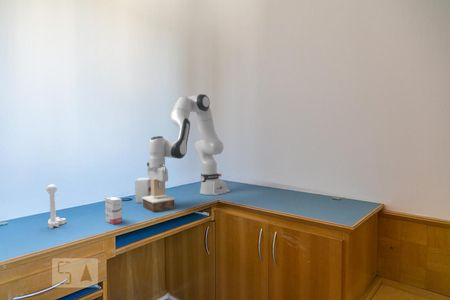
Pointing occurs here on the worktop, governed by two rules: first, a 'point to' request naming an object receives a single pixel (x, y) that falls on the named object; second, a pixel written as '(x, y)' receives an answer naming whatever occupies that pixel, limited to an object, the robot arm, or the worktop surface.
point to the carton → (155, 190)
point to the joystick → (53, 209)
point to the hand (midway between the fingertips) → (158, 187)
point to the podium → (158, 203)
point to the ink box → (113, 210)
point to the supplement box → (142, 189)
